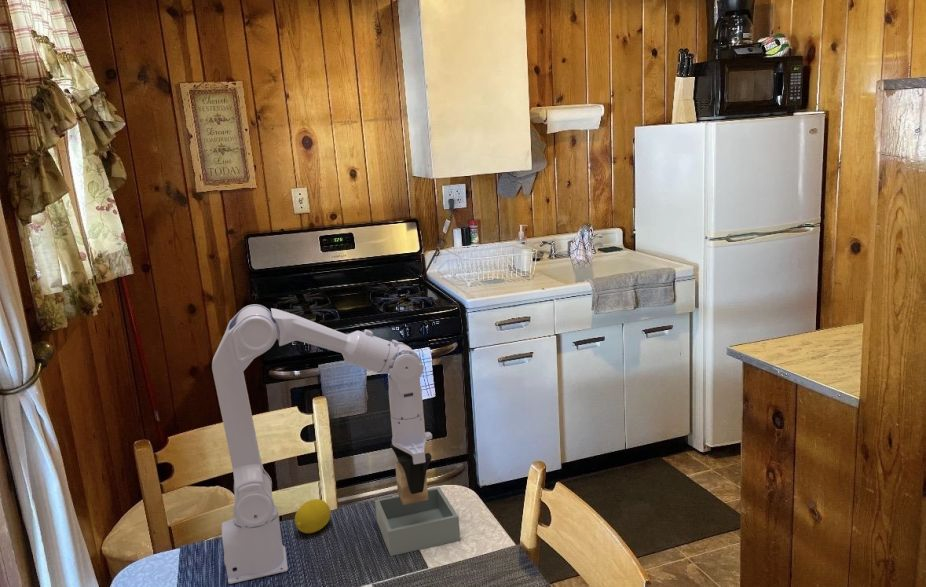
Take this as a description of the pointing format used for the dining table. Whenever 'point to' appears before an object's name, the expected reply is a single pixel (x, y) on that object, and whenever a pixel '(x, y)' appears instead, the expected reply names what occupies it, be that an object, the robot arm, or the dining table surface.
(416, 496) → the carton
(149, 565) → the dining table surface
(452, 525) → the tote
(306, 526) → the lemon
